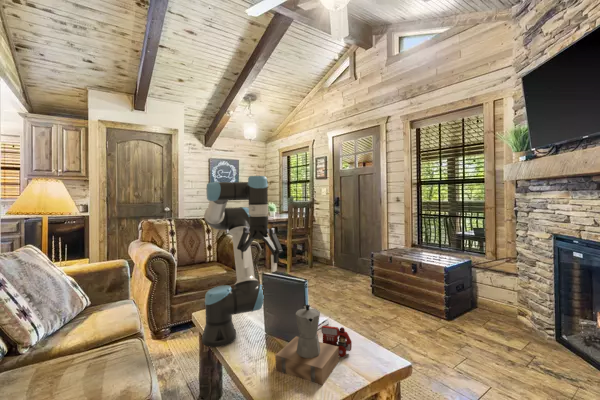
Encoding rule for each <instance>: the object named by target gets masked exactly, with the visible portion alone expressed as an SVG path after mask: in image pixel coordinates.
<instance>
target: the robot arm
mask: <svg viewBox="0 0 600 400" xmlns="http://www.w3.org/2000/svg"><path fill="white" fill-rule="evenodd" d="M247 178H248V179H247V181H236V182H235V181H234V182H229V181H215V182H208V183H206V187H205V188H206V189H205V190H206V193H205V194H206V199H207V201H208V202H209V203H208V206H207V208H206V210H205V211H204V215H203V217H204V222H205V223H206V224H207V226H209V227H211V228H213V229H214V230H218V231H228V234H229V235H230V236H231V238H232V245H233V246H232V247H233V255H234V263H235V272H236V273H235V274H236V282H235V283H234V284H233V285H234V287H233V288H232V287H231V285H228V284H227V285H226V284H225V285H223V284H222V285H218V286H214V287H212V288H210V289H208V290H207V291H206V293H205V296H204V305H205V307H204V308H205V326H204V330H203V333H202V336H201V342H202V344H203V345H204V346H205V347H210V348H219V347H224V346H227V345H229V344H232V343H233V342H234V341H235V340H236V339H237V330H236V328H235V325H234V323H233V315H238V314H245V313H250V312H251V313H253V312H256V311H260V310H261V309H262V307H263V305H264V300H263V299H265V298H264V296H265V294H264V295H263V290H262V286H263V284H260V282H259V279H257V278H256V277H255V276H256V275H255V269H254V263H253V262H254V261H253V255H252V249H251V248H252V247H251V245H252V243H253V242H254V240H262V242H264V243H265V245H266V246H267V248H268V249H269V250H270V252H271V253H272V254H270V263H271V265H270V267H271V268H270V270H271V273H274V272H276V271H278V263H279V255H280V254H281V253H283V252H284V250H283V247H282V245H281V243H280V240H279V238H278V236H277V234H276V228H275V227H272V228H269V227H268V226H269V216H268V215H269V201H268V200H269V199H268V197H269V195H268V194H269V189H268V186H269V184H268V178H267V177H266V176H265V175H250V176H248V177H247ZM228 201H248V207H247V206H245V207H243V206H240V207H227V205H228Z"/></svg>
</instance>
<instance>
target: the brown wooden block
mask: <svg viewBox="0 0 600 400" xmlns="http://www.w3.org/2000/svg"><path fill="white" fill-rule="evenodd" d="M298 338H299V336H297V335H296V336H295V337H293V338H292V339H291V340H290V341H289V342H288V343H287V344H286V345H284V347H283V348H282V349H280V350H279V351H278V352H277V353H276V354H275V357H274V358H275V360H274V361H275V371H276V372H278V373H281V374H285V375H286V376H287V375H288V376H291V377H294V378H296V379H300V380H304V381H306V382H309V383H313V384H315V385H319V386H323V385H324V384H325V382H326V381H327V380H328V378H329V376H330V375H331V374H332V372H333V371H334V369H335V368H336V366H337V365H338V363H339V361H340V360H339V359H340V356H339V347H338V346H334V345H330V344H326V343H323V341H322V342H321V341H319V344H320V354H319V355H318V356H317V357H314V358H303V357H301V356H299V355H298V354H297V345H298Z"/></svg>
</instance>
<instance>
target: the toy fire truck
mask: <svg viewBox="0 0 600 400" xmlns="http://www.w3.org/2000/svg"><path fill="white" fill-rule="evenodd" d="M321 334H322V343H326V344H330V345H334V346H338V347H339V358H344V357H345V356H346V355H347V352H351V351H352V339H351V338H350V336H349V335H350V334H349V333H348V332H347V331H346V329H345V328H344V327H340V328H339V327H337V326H330V325H322V326H321Z"/></svg>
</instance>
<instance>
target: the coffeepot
mask: <svg viewBox="0 0 600 400" xmlns="http://www.w3.org/2000/svg"><path fill="white" fill-rule="evenodd" d="M310 306H311V305H310V304H305V303H304V304H303V305H302V308H300V309H297V311H296V312H295V319H296V323H297V324H296V325H297V330H298V332H299V333H298V334H299V335H298V337H299V338H298V345H297V354H298V355H299V356H301V357H303V358H314V357H317V356H318V355H319V354H320V344H319V342H320V340H319V335H318V330H319V324H320V316H321V311H319V310H318V309H316V308H310Z"/></svg>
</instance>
